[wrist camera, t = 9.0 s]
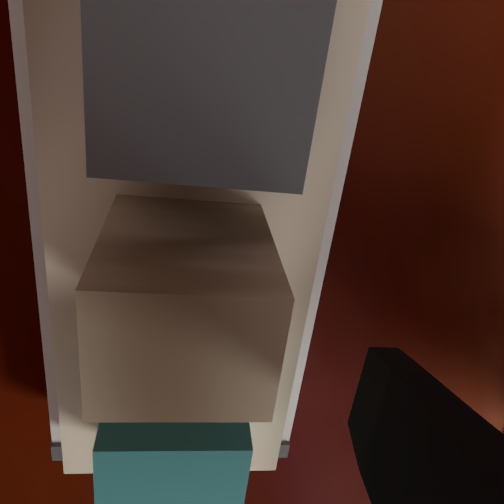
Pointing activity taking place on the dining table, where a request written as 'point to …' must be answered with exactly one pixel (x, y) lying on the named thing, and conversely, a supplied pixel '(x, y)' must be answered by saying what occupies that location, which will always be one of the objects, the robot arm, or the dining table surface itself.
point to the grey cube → (203, 90)
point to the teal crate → (171, 462)
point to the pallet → (92, 203)
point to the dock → (36, 221)
